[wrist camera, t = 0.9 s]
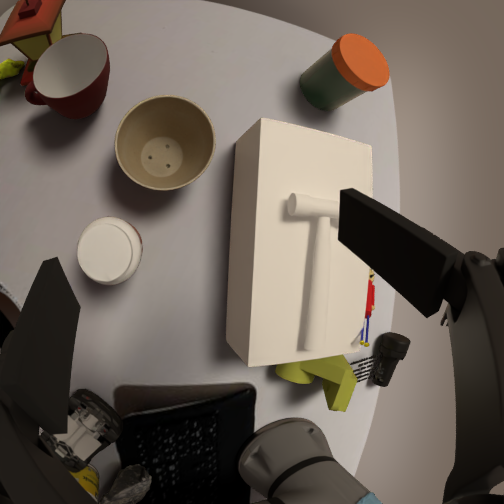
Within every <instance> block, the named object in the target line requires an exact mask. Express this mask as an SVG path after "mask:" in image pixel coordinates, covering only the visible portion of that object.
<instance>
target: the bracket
mask: <svg viewBox="0 0 504 504" xmlns="http://www.w3.org/2000/svg"><path fill="white" fill-rule="evenodd" d="M275 373H276V374H277V375H278V376H280V377H281V378H283V379H286V380H288V381H291V382H295V383H302V384H308V383H312V382H313V380H314V377H315V375H317V376H319V377H322V378H323V381H322V386H323V390H324V394H325V397H326V401H327V405H328V408H329V410H333V411H343V412H345V411H346V409H347V406H348V404H349V401H350V399H351V396H352V393H353V391H354V388H355V385H356V383H357V380H358V379H357V377H356V376H355V374H354V373H353V370H352V368H351V366H350V365H349V363H348V362H347V360H346V359H345V357H344V356H343V354H342V355H336V356H330V357H324V358H318V359H312V360H305V361H298V362H290V363H282V364H277V366H276V370H275Z"/></svg>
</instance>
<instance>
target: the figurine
mask: <svg viewBox="0 0 504 504" xmlns="http://www.w3.org/2000/svg"><path fill="white" fill-rule="evenodd" d="M373 271H374V270H373V269H370V268H369V280H368V291H367V301H366V310H365V318H367V327H366V340H365V344H364V341H363V331H364V326H363V328H362V330H361V340H360V343H359V344H360V345H364V346H365V347H368V346H369V343H367V342H368V328H369V317H371V311H372V310H374V309H375V306H374V291H375V286H374V285H372V282H373V280H374V275H375V274H374V273H373Z"/></svg>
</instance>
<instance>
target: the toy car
mask: <svg viewBox="0 0 504 504" xmlns="http://www.w3.org/2000/svg"><path fill="white" fill-rule="evenodd" d="M122 431H123V421H122V419H121V418H120V416H119V415H118V414H117V412H116V411H115V410H114V409H113V408H112V407H111V406H110V405H109V404H107V403H106V402H105V401H104V400H103V399H102V398H100V397H99V396H98V395H96V394H95V393H93V392H91V391H89V390H87V389H80V390H77V392H75V393H74V394H73V395H72V396H71V398H70V399H69V404H68V434H55V435H49V434H48V433H47V432H46V431H45V430H44V431H43V432H42V434H41V436H40V437H41V438H43V439H44V440H45V442H46V443H47V444H48V446H49V447H50V448H51V450H52V451H53V452H54V454H55V455H56V456H57V457H58V459H59V460H60V461H61V462H62V464H63V465H64V466H65V467H66V468H67V470H68V471H70V472H72V473H77V472H80V471H81V470H83V469H84V468H85V467H86V466H87V465H88V464H89V462H90V461H91V458H93V457H94V456H95V455H96V454H97V453H98V452H100V451H101V450H103V449H105V448H106V447H108V446H109V445H111V443H113V442H115V441H116V440H117V438H118V437H119V436H120V434H121V433H122Z"/></svg>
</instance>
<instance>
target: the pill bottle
mask: <svg viewBox="0 0 504 504" xmlns="http://www.w3.org/2000/svg"><path fill="white" fill-rule="evenodd" d="M142 250H143V246H142V239H141V236H140V234H139V233H138V231H137V230H136V229H135V227H133V226H132V225H131V224H130V223H128V222H126V221H124V220H122V219H119V218H116V217H103V218H99V219H97V220H95V221H93V222H92V223H90V224H89V225H88V226H87V227H86V228H85V229H84V231H83V232H82V234H81V236H80V238H79V241H78V247H77V257H78V261H79V264H80V266H81V268H82V270H83V271H84V272H85V274H86V275H87V276H88V277H89V278H91V279H92V280H94V281H95V282H97V283H100V284H104V285H115V284H119V283H121V282H124V281H125V280H127V279H128V278H129V277H131V276H132V275H133V273H134V272H135V271H136V269H137V268H138V266H139V263H140V260H141V256H142Z"/></svg>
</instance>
